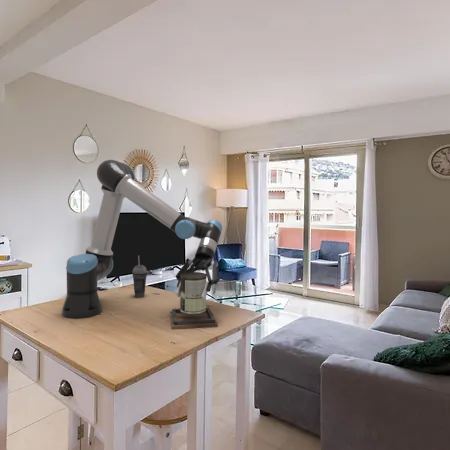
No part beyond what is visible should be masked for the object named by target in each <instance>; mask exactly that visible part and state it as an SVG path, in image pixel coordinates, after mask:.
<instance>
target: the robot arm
mask: <svg viewBox="0 0 450 450" xmlns="http://www.w3.org/2000/svg"><path fill="white" fill-rule="evenodd" d="M96 176H97V179H98V182H99V183H100V184H101V188H100V190H101V192H102V193H103V196H102V199H101V203H100V204H101V205H100V208H99V211H98V216H97V220H96V223H95V224H96V225H95V228H94V231H93V232H94V233H93V236H92V240H91V244H90V245H89V246H88V247H86V249H85V253H81V254H76V255H75V254H74V255H71V257H68V259H67V261H66V267H65V271H66V297H65V299H64V303H63V306H62V309H61V310H62V311H61V314H62V316H63V317H65V318H67V319H68V318H70V319H83V318H89V317H93V316H96V315H99V314H100V313H101V312H102V311H103V304H102V302H101V299H100V297H99V294H98V281H100V280H102V279H104V278H106V277H108V275H110V274H111V272H112V271H113V267H114V260H113V256H114V251H112V246H113V242H114V238H115V234H116V229H117V225H118V221H119V218H120V213H121V209H122V206H123V203H124V201H123V200H124V199H125V198H126V199H128V200H129V201H131V202H132V203H133V204H135V205H136V207H139V208H140V209H142V210H143V211H145V212H146V213H147V214H149V215H150V216H151V217H153V218H154V219H156V220H158V221H159V222H160V223H161V224H162V225H164V226H166V227H167V228H168V229H170V230H171V231H173V232H174V233H175V234H176V236H177V237H178V238H179V239H182V240H189V239H191V238H192V237H193V238H195V239H196V238H197V239H199V240H200V241H199V243H198V246H197V248H196V252H195V254H194V258H193V259H190V258H188V257H187V258H186V259H185V261H184V264H182V266H181V267H180V269H179V271H178V272H177V273H176V275H175V278H176V280H177V281H178V282H177V284H176V288H177V289H176V292H175V295H176V297H178V298H180V289H181V277H180V275H181V274H182V273H187V272H197V271H202V272H203V271H204V273H205V274H207V277H206V279H207V281H206V284H205V287H204V290H203V293H202V298H203V300H205V299H206V300H207V296H208V293H210V292H211V290H212V286H213V285H218V267H219V263H218V260H214V261H213V259H214V255H215V253H216V250H217V247H218V244H219V240H220V237H221V235H222V232H223V224H222V223H221V222H220V221H219V220H217V219H209V220H208V221H207V222H203V221H201V220H198V219H194V218H191V217H189V216H184V215H183V214H182V213H180V212H179V211H178V210H176V209H175V208H173V207H172V206H171V205H169V204H168V203H166V202H165V201H164V200H162V198H160V197H158V196H156V195H155V194H154V193H152V192H151V191H150V190H149V189H147V188H145V187H144V186H143V185H141V184H140V183H139V182H137V181H136V176H135V172H134V170H133V169H132V167H130V165H128V164H126V163H124V162H120V161H118V160H114V159H106V160H104V161H102V162H101V163H100V164H99V165H98V167H97V169H96ZM211 266H212V277H211V274H210V271H209V267H211Z"/></svg>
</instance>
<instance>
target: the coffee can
mask: <svg viewBox="0 0 450 450" xmlns="http://www.w3.org/2000/svg"><path fill="white" fill-rule="evenodd" d="M180 277H181V289H180V297H179V298H180V307H179V309H180V311H181V312H183V313H186V314H199V313H203V312H205V311H206V308H207V298H206V299H205V300H203V298H202V293H203V290H204V287H205V284H206V282H207V274H206V272H199V271H195V272H187V273H182V274H181V275H180Z"/></svg>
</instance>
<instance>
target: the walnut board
mask: <svg viewBox="0 0 450 450" xmlns="http://www.w3.org/2000/svg"><path fill="white" fill-rule="evenodd" d="M169 316H170V325H171V330H180V329H181V330H182V329H183V330H185V329H201V328H203V329H204V328H218V327H219V324H218V322H217V319H216V318H215V315H214V314H213V312H212V310H211V308H210V307H206V311H205V312H203V313H199V314H186V313H183V312H181V311H180V308H172V309H171V311H169Z"/></svg>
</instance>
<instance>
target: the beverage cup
mask: <svg viewBox="0 0 450 450" xmlns="http://www.w3.org/2000/svg"><path fill="white" fill-rule="evenodd" d="M137 258H138V259H137V260H138V264H137V265H135V266H134V267H133V269H132V272H131V274H132V278H133V290H134V292H133V293H134V297H135V298H144V297H145V293H146V282H147V276H148V270H147V267H146V266H145V265H143V264H140V263H141V262H140V255H137Z"/></svg>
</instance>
